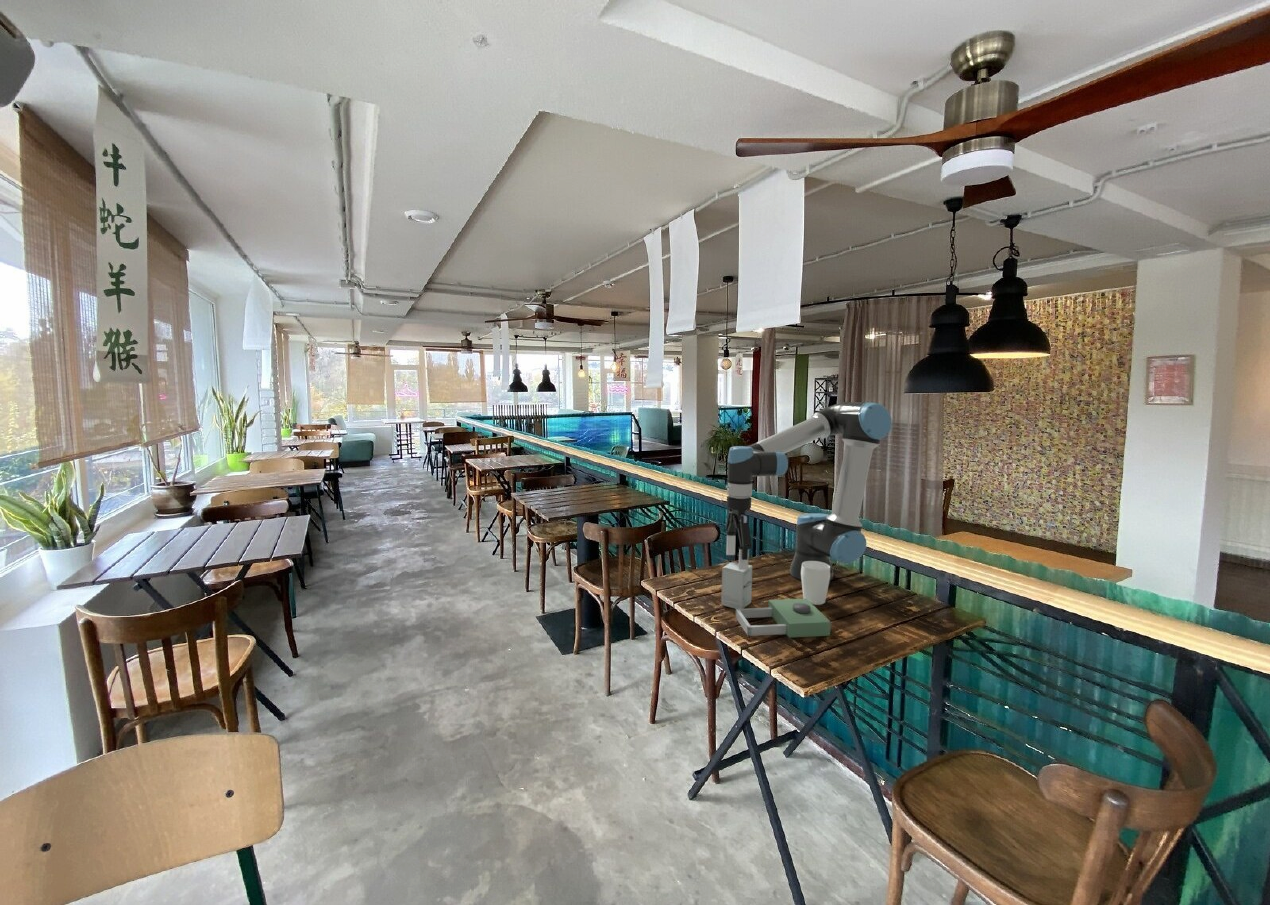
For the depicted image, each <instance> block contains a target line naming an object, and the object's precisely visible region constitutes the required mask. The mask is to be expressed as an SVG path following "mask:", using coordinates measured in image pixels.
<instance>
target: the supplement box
mask: <svg viewBox="0 0 1270 905" xmlns="http://www.w3.org/2000/svg"><path fill="white" fill-rule="evenodd" d="M738 568H739V562H736V561H731V562H729V563H727V564H726V565H725V566H723V567H722V569H721V598H720V600H721V601H720V602H721V604H720V605H722V606H725V607H728V608H731V609H735V610H736V609H746V607H747V606H748V605H750V604H751V602H752V591H753V590H752V588H753V587H752V586H753V585H752V584H753V565H750V564H748V569H746V570H739V569H738Z"/></svg>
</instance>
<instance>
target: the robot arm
mask: <svg viewBox="0 0 1270 905" xmlns="http://www.w3.org/2000/svg"><path fill="white" fill-rule="evenodd" d="M892 423H893V422H892V417H891V413H890V412H889V410H888V408H886V406H884V405H882V404H880V403H875V402H869V401H867V402H864V401H862V402H861V401H859V402H858V401H842V402H838V403H836V404H833V405H830V406H828V407H826V408H823V409H821V410H819V411H816V412H815V413H813V414H811V417H810V418H808V419H805V420H804V421H801V422H799V423H797V424H795V425H792V426H790V427H788V428H786V429H783V430H782V431H780V432H777V433H775V434H773V435H770V436H767V437H766V438H764V439H761V440H759V441H757V442H755V443H752V444H750V445H747V446H745V445H743V446H742V445H739V446H738V445H735V446H731V447H729V450H728V454H727V455H728V457H727V485H725V488H726V489H727V490H726V494H727V497H726V508H727V509H728V513H727V516H726V522H725V528H724V531H725V534H726V551H725V552H726V554H725V555H726V556H736V535H737V534H738V540H739V541H738V542H739V546H738V551H739V552H738V563H739V568H738V569H739V570H746V569H748V565H749V553H750V552H749V551H750V550H752V547H753V545H752V539H751V528H750V516H749V515H746V511H749V510H751V508H752V495H753V477H776V476H777V477H778V476H783V475H785V474H786V473H787V471H788V469H789V468H788V467H789V462H788V461H789V460H788V457H787V455H786V454H787V453H789V452H791V451H793V450H795V449H798V448H800V447H803V446H805V445H807V444H808V443H809V444H810V443H811V442H813V441H815V440H818V439H820V438H822V439H827V438H828V437H831V436H837V435H840V436H841V435H842V438H841V441H843V443H844V444H845V448H844V451H843V457H842V462H841V467H840V472H839V476H838V481H837V486H836V491H835V496H834V500H833V505H832V510H831V513H830V514H828V513H819V512H817V513H816V512H814V513H813V512H811V513H802V514H799V515H798V516H797V519H796V525H795V526H796V532H795V535H796V536H795V553H794V556H793V558H792V562H791V564H790V567H789V574H790V576H792V577H793V578H794V579H797V580H799V581H800V580H801V567H802V563H803V562H805V561H819V562H823V563H826V564H828V565H829V566H830V581H832V580H833V578H834V570H833V566H832V561H831V560H830V559H832V560H834V561H836V562H840V563H843V564H851V563H854V562H856V561H858V559H860V558H861V557H862V556H863V554H864V553H865V551H866V549H867V539H866V536H865V535H864V533H862V530H863V529H862V528H863V524H862V522H861V521H860V520H859V518H860V514H861V509H862V505H863V504H862V503H863V499H864V495H865V491H866V484H867V481H868V475H869V470H870V465H871V461H872V456H873V451H874V449H876V448H877V447H879V446H880V442H881V440H882V439H885V438H886V437H887V435H889V434H890V432H891V429H892ZM801 581H802V580H801Z"/></svg>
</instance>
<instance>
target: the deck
mask: <svg viewBox="0 0 1270 905" xmlns="http://www.w3.org/2000/svg"><path fill="white" fill-rule="evenodd" d="M734 615H735V619H736V620H737V621H738V623H739V625H740V626H741V627H742V629H743V630H744V632H745V634H746V635H747V637H753V636H755V637H756V636H771V635H772V636H773V635H775V636H776V635H785V636H787V637H788V638H790V639H791V638H804V637H805V638H806V637H826V636H831V625H832V622H831V620H829V619H828V618H827V617H826V616H825V615H824V614H823V613H822V612H821V610H819V609H818V608H817V607H816V605H814V604H811V603H810V602H809V601H808V600H807V599H803V598H790V599H788V598H787V599H786V598H785V599H769V600H768V607H751V608H750V607H749V608H743V609H735V614H734ZM749 618H750V619H751V618H772V620H774V621H775V623H776V624H759V625H758V624H755V625H751V624H750V622H749V621H748V620H747V619H749Z"/></svg>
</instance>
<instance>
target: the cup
mask: <svg viewBox="0 0 1270 905" xmlns="http://www.w3.org/2000/svg"><path fill="white" fill-rule="evenodd" d="M830 581H831V580H830V566H829V565H828V564H826V563H823V562H819V561H805V562H803V563H802V567H801V588H802V597H803V598H802V599H807V600H808V601H809V602H810V603H811V604H812V605H814V606H821V605H824V604H825V603H826V599H827V595H828V589H829V585H830Z"/></svg>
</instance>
